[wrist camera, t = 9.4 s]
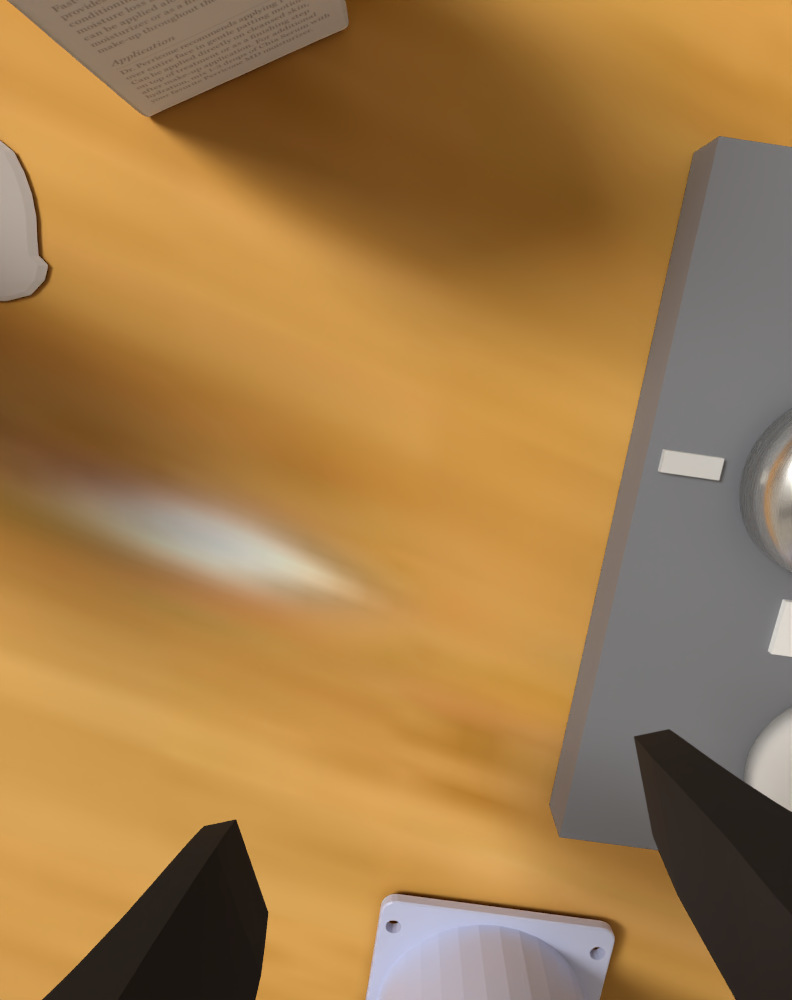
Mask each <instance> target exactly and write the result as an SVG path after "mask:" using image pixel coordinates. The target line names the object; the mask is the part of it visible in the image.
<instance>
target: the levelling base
mask: <svg viewBox="0 0 792 1000" xmlns="http://www.w3.org/2000/svg"><path fill="white" fill-rule="evenodd" d="M791 408H792V147H787V146H780V145H774V144H767V143H761V142H754V141H747V140H741V139H734V138H728V137H721V136H719V137H717V138H716V139H714V140H713V141H711V142H710V143H708V144H707V145H705V146H704V147H702V148H700V149H699V150H697V151H696V152H694V154H693V158H692V163H691V167H690V172H689V176H688V181H687V185H686V190H685V194H684V199H683V203H682V208H681V212H680V217H679V221H678V226H677V230H676V235H675V240H674V244H673V249H672V253H671V258H670V262H669V267H668V271H667V276H666V280H665V285H664V289H663V294H662V298H661V303H660V307H659V312H658V316H657V321H656V325H655V330H654V334H653V339H652V343H651V348H650V353H649V357H648V362H647V366H646V371H645V375H644V380H643V384H642V389H641V393H640V398H639V402H638V407H637V411H636V416H635V420H634V425H633V429H632V434H631V438H630V443H629V447H628V452H627V456H626V461H625V466H624V470H623V475H622V479H621V484H620V488H619V493H618V497H617V502H616V506H615V511H614V515H613V520H612V524H611V529H610V533H609V538H608V542H607V547H606V551H605V556H604V560H603V565H602V569H601V574H600V578H599V583H598V588H597V592H596V597H595V601H594V606H593V610H592V615H591V619H590V624H589V628H588V633H587V637H586V642H585V646H584V651H583V655H582V660H581V664H580V669H579V673H578V678H577V682H576V687H575V691H574V696H573V701H572V705H571V710H570V714H569V719H568V723H567V728H566V732H565V737H564V741H563V746H562V750H561V755H560V759H559V764H558V768H557V773H556V777H555V782H554V786H553V791H552V795H551V800H550V804H549V805H550V809H551V812H552V815H553V818H554V821H555V825H556V828H557V831H558V834H559V837H562V838H570V839H577V840H585V841H592V842H600V843H608V844H615V845H623V846H630V847H638V848H645V849H653V850H658V848H657V845H656V843H655V841H654V838H653V835H652V830H651V825H650V819H649V814H648V809H647V804H646V798H645V793H644V788H643V782H642V777H641V772H640V767H639V761H638V756H637V751H636V746H635V740H634V736H638V735H643V734H648V733H653V732H657V731H662V730H667V729H670V730H671V731H673V732H674V733H676V734H677V735H679V736H680V737H681V738H683V739H684V740H686V741H687V742H688V743H690V744H691V745H693V746H694V747H695V748H697V749H698V750H699V751H701V752H702V753H704V754H705V755H706V756H708V757H709V758H711V759H712V760H713V761H715V762H716V763H718V764H719V765H720V766H722V767H723V768H725V769H726V770H728V771H729V772H731V773H732V774H733V775H735V776H736V777H738V778H739V779H741V780H742V781H744V782H745V783H747V784H748V785H750V786H751V787H753V788H755V789H756V790H758V791H759V792H761V793H762V794H764V795H765V796H767V797H768V798H770V799H771V800H773V801H775V802H776V803H778V804H779V805H781V806H783V807H784V808H786V809H788V810H789V811H791V812H792V572H790V571H789V570H787V569H785V568H784V567H782V566H780V565H779V564H777V563H775V562H774V561H773V560H771V559H770V558H768V557H767V556H766V555H765V554H764V553H763V552H762V551H761V550H759V548H758V547H757V546H756V545H755V543H754V542H753V541H752V539H751V537H750V536H749V534H748V532H747V530H746V528H745V525H744V523H743V520H742V516H741V511H740V503H739V489H740V481H741V476H742V472H743V469H744V466H745V462H746V460H747V458H748V456H749V454H750V452H751V450H752V448H753V446H754V445H755V443H756V442H757V440H758V438H759V437H760V436H761V435H762V434H763V432H764V431H765V430H766V429H767V428H768V427H769V426H770V425H771V424H772V423H773V422H774V421H775V420H776V419H777V418H778V417H780V416H781V415H782V414H783V413H785V412H786V411H788V410H789V409H791Z"/></svg>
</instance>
